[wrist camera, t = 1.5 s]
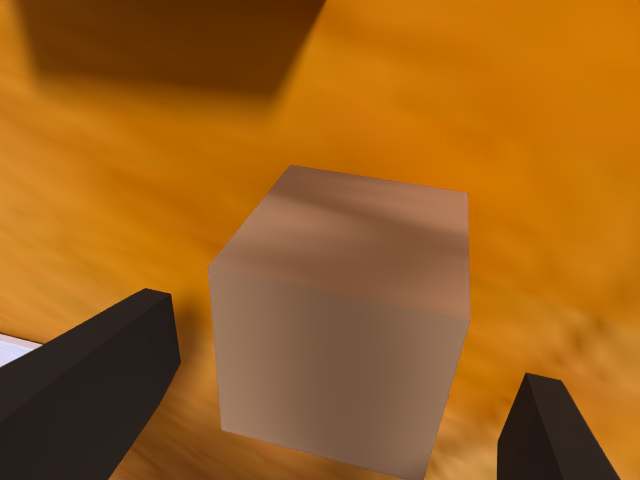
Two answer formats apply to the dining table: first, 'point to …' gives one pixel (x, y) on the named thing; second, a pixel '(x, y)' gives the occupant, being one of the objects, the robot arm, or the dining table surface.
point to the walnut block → (343, 318)
